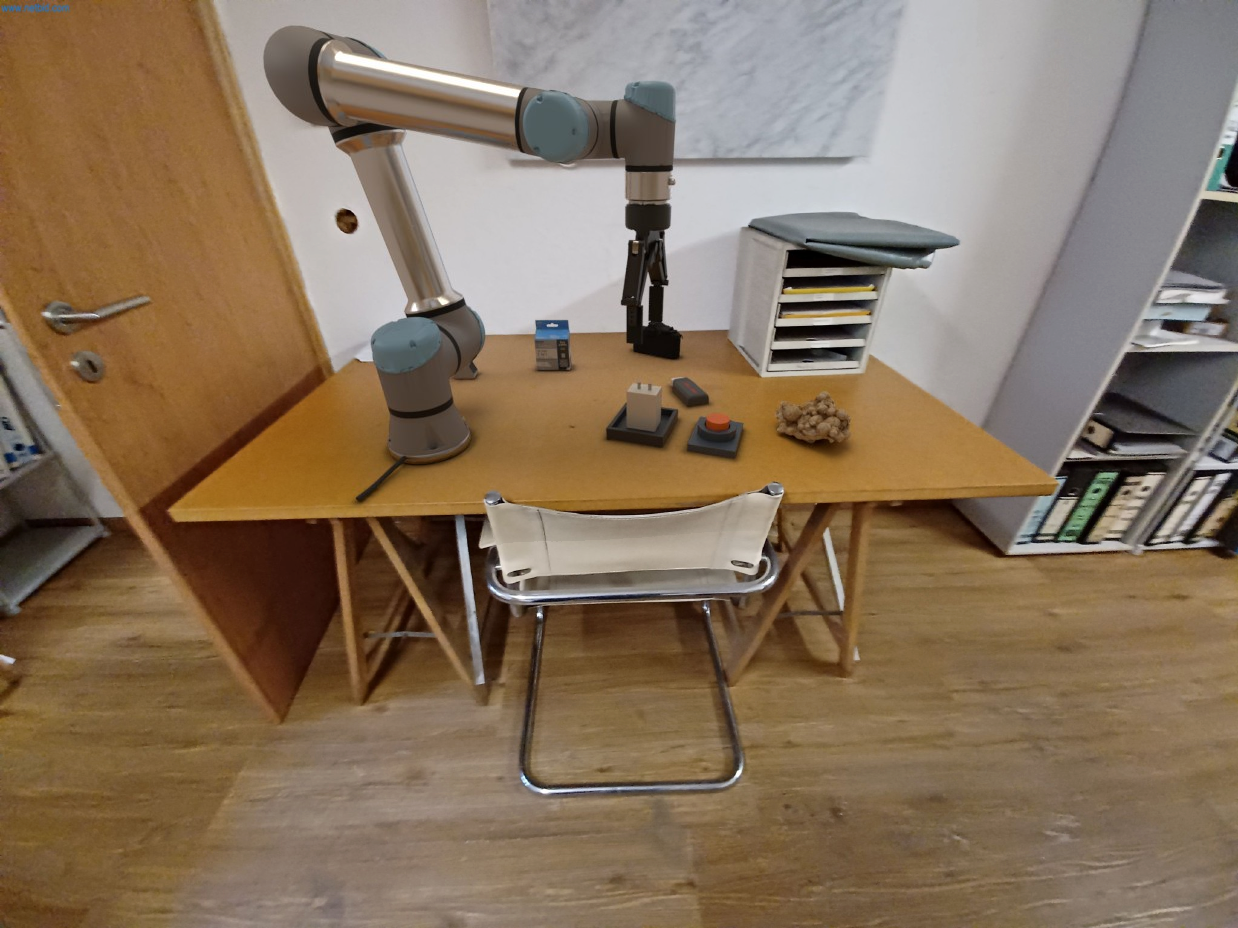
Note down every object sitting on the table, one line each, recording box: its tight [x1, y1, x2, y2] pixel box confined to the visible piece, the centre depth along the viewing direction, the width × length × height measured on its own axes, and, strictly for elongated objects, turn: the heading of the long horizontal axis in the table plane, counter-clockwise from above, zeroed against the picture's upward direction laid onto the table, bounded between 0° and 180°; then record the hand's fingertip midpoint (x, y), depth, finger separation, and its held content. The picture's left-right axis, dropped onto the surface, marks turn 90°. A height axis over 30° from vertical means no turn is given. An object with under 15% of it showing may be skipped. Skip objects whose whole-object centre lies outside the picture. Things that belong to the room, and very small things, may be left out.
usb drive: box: [670, 376, 710, 408], centre depth 116 cm, size 5×12×3 cm, turn 18°
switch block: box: [686, 416, 745, 460], centre depth 98 cm, size 12×9×4 cm
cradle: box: [605, 401, 679, 449], centre depth 102 cm, size 13×12×2 cm
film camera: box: [632, 321, 684, 360], centre depth 140 cm, size 15×10×9 cm, turn 58°
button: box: [706, 412, 731, 431], centre depth 97 cm, size 4×4×2 cm
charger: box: [626, 380, 663, 432], centre depth 100 cm, size 4×6×9 cm
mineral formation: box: [773, 390, 852, 444], centre depth 97 cm, size 8×13×15 cm
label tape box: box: [534, 319, 572, 371], centre depth 128 cm, size 9×4×12 cm, turn 88°
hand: (645, 331), depth 92 cm, fingers open, 13 cm apart
